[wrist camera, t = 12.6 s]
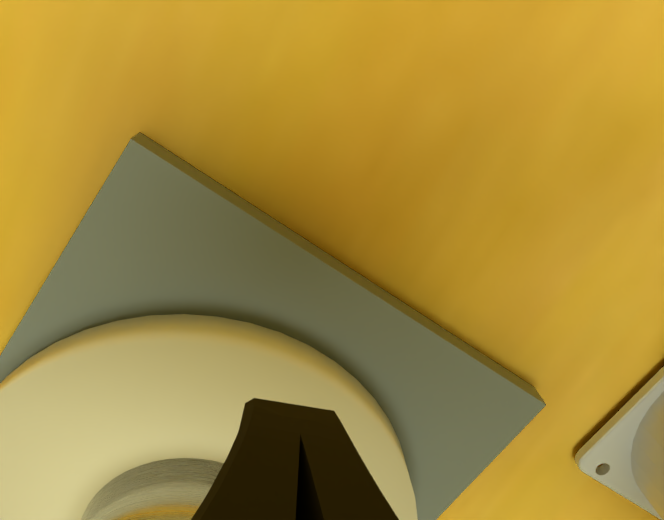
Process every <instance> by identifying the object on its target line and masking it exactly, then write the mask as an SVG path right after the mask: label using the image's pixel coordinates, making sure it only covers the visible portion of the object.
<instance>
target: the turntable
mask: <svg viewBox="0 0 664 520" xmlns="http://www.w3.org/2000/svg"><path fill="white" fill-rule="evenodd" d="M253 398H258V399H264V400H271V401H277V402H283V403H289V404H295V405H302V406H308V407H314V408H320V409H327V410H333V411H335V413H336V414H337V416H338V418H339V419H340V421H341V423H342V424H343V426H344V428H345V430H346V432H347V433H348V435H349V437H350V439H351V441H352V442H353V444H354V446H355V448H356V449H357V451H358V453H359V455H360V457H361V458H362V460H363V462H364V463H365V465H366V467H367V469H368V470H369V472H370V474H371V475H372V477H373V479H374V480H375V482H376V484H377V485H378V487H379V489H380V490H381V492H382V494H383V495H384V497H385V498H386V500H387V501H388V503H389V505H390V506H391V508H392V509H393V511H394V512H395V514H396V516H397V517H398V519H399V520H418V518H417V509H416V500H415V495H414V491H413V488H412V484H411V481H410V477H409V473H408V470H407V466H406V462H405V459H404V456H403V452H402V449H401V445H400V442H399V440H398V437H397V435H396V433H395V431H394V429H393V427H392V425H391V423H390V421H389V419H388V417H387V416H386V415H385V413H384V412H383V410H382V409H381V407H380V406H379V404H378V403H377V401H376V400H375V398H374V397H373V396H372V395H371V394H370V393H369V392H368V391H367V390H366V389H365V388H364V387H363V386H362V384H361V383H360V382H359V381H358V380H357V379H356V378H355V377H353V376H352V375H351V374H350V373H349V372H347V371H346V370H345V369H344V368H342V367H341V366H340V365H339V364H337V363H336V362H335V361H334V360H332V359H330V358H329V357H327V356H325V355H324V354H322V353H321V352H319V351H317V350H316V349H314V348H312V347H311V346H309V345H307V344H305V343H303V342H300V341H298V340H296V339H294V338H292V337H289V336H287V335H285V334H283V333H281V332H277V331H274V330H271V329H268V328H265V327H262V326H259V325H255V324H252V323H248V322H243V321H238V320H233V319H228V318H222V317H217V316H203V315H190V314H172V315H149V316H143V317H137V318H131V319H124V320H118V321H114V322H110V323H107V324H103V325H100V326H96V327H93V328H89V329H86V330H83V331H81V332H79V333H76V334H74V335H72V336H69V337H67V338H65V339H62V340H60V341H58V342H55V343H54V344H52V345H50V346H49V347H47V348H45V349H44V350H42V351H40V352H39V353H37V354H35V355H34V356H32V357H30V358H29V359H28V360H26V361H25V362H24V363H23V364H21V365H20V366H19V367H18V368H17V369H15V370H14V371H13V372H12V373H10V374H9V375H8V376H7V377H6V378H5V379H4V380H3V381H2V382H1V383H0V520H81V519H82V516H83V514H84V512H85V510H86V508H87V506H88V504H89V503H90V501H91V500H92V499H93V497H94V496H95V494H96V493H97V492H98V491H99V490H100V489H101V488H102V487H103V486H104V485H106V484H107V483H108V482H110V481H111V480H112V479H114V478H115V477H117V476H119V475H120V474H122V473H124V472H126V471H128V470H130V469H133V468H135V467H137V466H140V465H143V464H147V463H150V462H154V461H159V460H165V459H175V458H198V459H205V460H212V461H217V462H220V463H224V462H225V460H226V458H227V456H228V454H229V452H230V450H231V448H232V445H233V443H234V441H235V439H236V436H237V434H238V431H239V428H240V423H241V419H242V414H243V410H244V406H245V403H246V402H248V401H250V400H251V399H253Z"/></svg>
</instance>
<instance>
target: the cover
mask: <svg viewBox="0 0 664 520" xmlns="http://www.w3.org/2000/svg"><path fill="white" fill-rule="evenodd" d="M223 464H224V463H220V462H217V461H212V460H205V459H198V458H175V459H165V460H159V461H154V462H150V463H147V464H143V465H140V466H137V467H135V468H133V469H130V470H128V471H126V472H124V473H122V474H120V475H119V476H117V477H115V478H114V479H112V480H111V481H110V482H108V483H107V484H106V485H104V486H103V487H102V488H101V489H100V490H99V491H98V492H97V493H96V494H95V496H94V497H93V499H92V500H91V501H90V503H89V504H88V506H87V508H86V510H85V512H84V514H83V516H82V519H81V520H191V519H192V517H193V516H194V514H195V513H196V511H197V509H198V508H199V506H200V505H201V503H202V502H203V500H204V498H205V497H206V495H207V493H208V492H209V490H210V488H211V486H212V484H213V482H214V481H215V479H216V477H217V475H218V473H219V471H220V469H221V468H222V466H223Z"/></svg>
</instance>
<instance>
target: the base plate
mask: <svg viewBox="0 0 664 520" xmlns="http://www.w3.org/2000/svg"><path fill="white" fill-rule="evenodd" d="M172 314H190V315H203V316H217V317H222V318H228V319H233V320H238V321H243V322H248V323H252V324H255V325H259V326H262V327H265V328H268V329H271V330H274V331H277V332H281V333H283V334H285V335H287V336H289V337H292V338H294V339H296V340H298V341H300V342H303V343H305V344H307V345H309V346H311V347H312V348H314V349H316V350H317V351H319V352H321V353H322V354H324V355H325V356H327V357H329V358H330V359H332V360H334V361H335V362H336V363H337V364H339V365H340V366H341V367H342V368H344V369H345V370H346V371H347V372H349V373H350V374H351V375H352V376H353V377H355V378H356V379H357V380H358V381H359V382H360V383H361V384H362V386H363V387H364V388H365V389H366V390H367V391H368V392H369V393H370V394H371V395H372V396H373V397H374V398H375V400H376V401H377V403H378V404H379V406H380V407H381V409H382V410H383V412H384V413H385V415H386V416H387V417H388V419H389V421H390V423H391V425H392V427H393V429H394V431H395V433H396V435H397V437H398V440H399V442H400V445H401V449H402V452H403V456H404V459H405V462H406V466H407V470H408V473H409V477H410V481H411V484H412V488H413V491H414V495H415V500H416V509H417V518H418V520H436V519H437V518H438V517H439V516H440V515H441V514H442V513H443V512H444V511H445V510H446V509H447V508H448V507H449V506H450V505H451V504H452V503H453V501H454V500H455V499H456V498H457V497H458V496H459V495H460V494H461V493H462V492H463V491H464V490H465V489H466V488H467V487H468V486H469V485H470V484H471V483H472V482H473V481H474V480H475V479H476V478H477V476H478V475H479V474H480V473H481V472H482V471H483V470H484V469H485V468H486V467H487V466H488V465H489V464H490V463H491V462H492V461H493V460H494V459H495V458H496V457H497V456H498V455H499V454H500V452H501V451H502V450H503V449H504V448H505V447H506V446H507V445H508V444H509V443H510V442H511V441H512V440H513V439H514V438H515V437H516V436H517V435H518V434H519V433H520V432H521V431H522V430H523V429H524V427H525V426H526V425H527V424H528V423H529V422H530V421H531V420H532V419H533V418H534V417H535V416H536V415H537V414H538V413H539V412H540V411H541V410H542V409H543V408H544V407H545V406H546V404H545V402H544V401H543V399H542V398H541V396H540V395H539V393H538V392H537V390H536V389H535V388H534V387H533V386H532V385H530V384H528V383H527V382H525V381H524V380H522V379H521V378H519V377H518V376H516V375H515V374H513V373H511V372H510V371H508V370H507V369H505V368H504V367H502V366H501V365H499V364H498V363H496V362H494V361H493V360H491V359H490V358H488V357H487V356H485V355H484V354H482V353H481V352H479V351H477V350H476V349H474V348H473V347H471V346H470V345H468V344H467V343H465V342H463V341H462V340H460V339H459V338H457V337H456V336H454V335H453V334H451V333H450V332H448V331H446V330H445V329H443V328H442V327H440V326H439V325H437V324H436V323H434V322H433V321H431V320H429V319H428V318H426V317H425V316H423V315H422V314H420V313H419V312H417V311H416V310H414V309H412V308H411V307H409V306H408V305H406V304H405V303H403V302H402V301H400V300H399V299H397V298H395V297H394V296H392V295H391V294H389V293H388V292H386V291H385V290H383V289H382V288H380V287H378V286H377V285H375V284H374V283H372V282H371V281H369V280H368V279H366V278H364V277H363V276H361V275H360V274H358V273H357V272H355V271H354V270H352V269H351V268H349V267H347V266H346V265H344V264H343V263H341V262H340V261H338V260H337V259H335V258H334V257H332V256H330V255H329V254H327V253H326V252H324V251H323V250H321V249H320V248H318V247H317V246H315V245H313V244H312V243H310V242H309V241H307V240H306V239H304V238H303V237H301V236H300V235H298V234H296V233H295V232H293V231H292V230H290V229H289V228H287V227H286V226H284V225H283V224H281V223H279V222H278V221H276V220H275V219H273V218H272V217H270V216H269V215H267V214H266V213H264V212H262V211H261V210H259V209H258V208H256V207H255V206H253V205H252V204H250V203H248V202H247V201H245V200H244V199H242V198H241V197H239V196H238V195H236V194H235V193H233V192H231V191H230V190H228V189H227V188H225V187H224V186H222V185H221V184H219V183H218V182H216V181H214V180H213V179H211V178H210V177H208V176H207V175H205V174H204V173H202V172H201V171H199V170H197V169H196V168H194V167H193V166H191V165H190V164H188V163H187V162H185V161H184V160H182V159H180V158H179V157H177V156H176V155H174V154H173V153H171V152H170V151H168V150H167V149H165V148H163V147H162V146H160V145H159V144H157V143H156V142H154V141H153V140H151V139H149V138H148V137H146V136H145V135H143V134H142V133H140V132H139V133H138V134H137V135H136V136H134V137H133V138H132V139H131V140H130V141H129V143H128V145H127V146H126V148H125V150H124V151H123V153H122V155H121V156H120V158H119V160H118V161H117V163H116V165H115V166H114V168H113V170H112V171H111V173H110V175H109V176H108V178H107V180H106V181H105V183H104V185H103V186H102V188H101V190H100V191H99V193H98V195H97V196H96V198H95V200H94V201H93V203H92V204H91V206H90V208H89V209H88V211H87V213H86V214H85V216H84V218H83V219H82V221H81V223H80V224H79V226H78V228H77V229H76V231H75V233H74V234H73V236H72V238H71V239H70V241H69V243H68V244H67V246H66V248H65V249H64V251H63V253H62V254H61V256H60V258H59V259H58V261H57V263H56V264H55V266H54V268H53V269H52V271H51V272H50V274H49V276H48V277H47V279H46V281H45V282H44V284H43V286H42V287H41V289H40V291H39V292H38V294H37V296H36V297H35V299H34V301H33V302H32V304H31V306H30V307H29V309H28V311H27V312H26V314H25V316H24V317H23V319H22V321H21V322H20V324H19V326H18V327H17V329H16V331H15V332H14V334H13V336H12V337H11V339H10V341H9V342H8V344H7V345H6V347H5V349H4V350H3V352H2V354H1V355H0V383H1V382H2V381H3V380H4V379H5V378H6V377H7V376H8V375H9V374H10V373H12V372H13V371H14V370H15V369H17V368H18V367H19V366H20V365H21V364H23V363H24V362H25V361H26V360H28V359H29V358H30V357H32V356H34V355H35V354H37V353H39V352H40V351H42V350H44V349H45V348H47V347H49V346H50V345H52V344H54V343H55V342H58V341H60V340H62V339H65V338H67V337H69V336H72V335H74V334H76V333H79V332H81V331H83V330H86V329H89V328H93V327H96V326H100V325H103V324H107V323H110V322H114V321H118V320H124V319H131V318H137V317H143V316H149V315H172Z"/></svg>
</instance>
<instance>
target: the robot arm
mask: <svg viewBox="0 0 664 520" xmlns="http://www.w3.org/2000/svg"><path fill="white" fill-rule="evenodd" d="M575 462H576V464H577V466H578V467H579V469H580V470H581V471H582V472H584V473H585V474H587V475H588V476H590V477H592V478H593V479H595V480H597V481H598V482H600V483H602V484H603V485H605V486H606V487H608V488H610V489H611V490H613V491H615V492H616V493H618V494H620V495H621V496H623V497H624V498H626V499H628V500H629V501H631V502H633V503H634V504H636V505H638V506H639V507H641V508H642V509H644V510H646V511H647V512H649V513H651V514H652V515H654V516H656V517H657V518H659V519H660V520H664V366H663V367H662V368H661V369H660V370H659V371H658V372H657V373H656V374H655V375H654V376H653V377H652V378H651V379H650V380H649V381H648V382H647V383H646V384H645V385H644V386H643V387H642V388H641V389H640V390H639V391H638V392H637V393H636V394H635V395H634V396H633V397H632V398H631V399H630V400H629V401H628V402H627V403H626V404H625V405H624V406H623V407H622V408H621V409H620V410H619V411H618V412H617V413H616V414H615V415H614V416H613V417H612V418H611V419H610V420H609V421H608V422H607V423H606V424H605V425H604V426H603V427H602V428H601V429H600V430H599V431H598V432H597V433H596V434H595V435H594V436H593V437H592V438H591V439H590V440H589V441H588V442H587V443H586V444H585V445H584V446H583V447H582V448H581V449H580V450H579V451H578V452H577V453H576V455H575ZM600 464H603V465H601V466H600V467H597V466H598V465H600ZM191 520H399V519H398V517H397V516H396V514H395V512H394V511H393V509H392V508H391V506H390V505H389V503H388V501H387V500H386V498H385V497H384V495H383V494H382V492H381V490H380V489H379V487H378V485H377V484H376V482H375V480H374V479H373V477H372V475H371V474H370V472H369V470H368V469H367V467H366V465H365V463H364V462H363V460H362V458H361V457H360V455H359V453H358V451H357V449H356V448H355V446H354V444H353V442H352V441H351V439H350V437H349V435H348V433H347V432H346V430H345V428H344V426H343V424H342V423H341V421H340V419H339V418H338V416H337V414H336V413H335V411H333V410H327V409H320V408H314V407H308V406H302V405H295V404H289V403H283V402H277V401H271V400H264V399H258V398H253V399H251V400H250V401H248V402H246V403H245V406H244V410H243V414H242V419H241V423H240V428H239V431H238V434H237V436H236V439H235V441H234V443H233V445H232V448H231V450H230V452H229V454H228V456H227V458H226V460H225V462H224V464H223V466H222V468H221V469H220V471H219V473H218V475H217V477H216V479H215V481H214V482H213V484H212V486H211V488H210V490H209V492H208V493H207V495H206V497H205V498H204V500H203V502H202V503H201V505H200V506H199V508H198V509H197V511H196V513H195V514H194V516H193V517H192V519H191Z"/></svg>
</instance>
